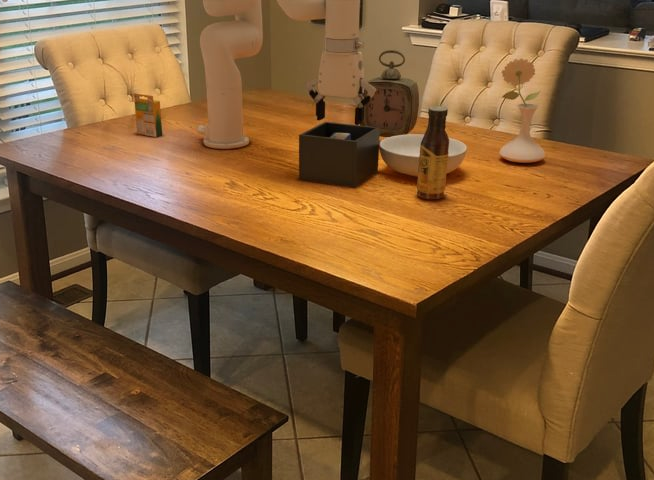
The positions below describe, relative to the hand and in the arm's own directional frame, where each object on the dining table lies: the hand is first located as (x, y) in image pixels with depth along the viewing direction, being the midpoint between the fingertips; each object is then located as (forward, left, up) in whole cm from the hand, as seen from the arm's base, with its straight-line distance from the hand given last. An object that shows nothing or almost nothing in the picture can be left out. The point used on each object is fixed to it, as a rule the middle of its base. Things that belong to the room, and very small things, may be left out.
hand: (339, 121), depth 191 cm
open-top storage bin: (0, 0, -13) cm, 13 cm away
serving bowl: (+17, +11, -13) cm, 24 cm away
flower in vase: (+36, +32, -13) cm, 50 cm away
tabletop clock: (+1, +31, -13) cm, 34 cm away
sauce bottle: (+25, -6, -13) cm, 29 cm away
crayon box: (-65, +13, -13) cm, 67 cm away
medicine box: (0, 0, -12) cm, 12 cm away
